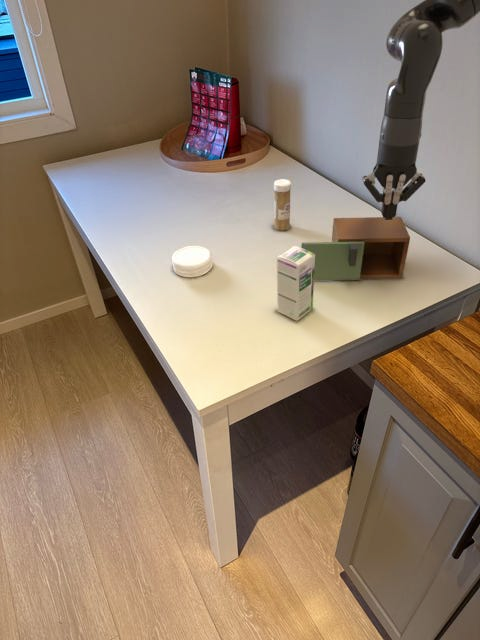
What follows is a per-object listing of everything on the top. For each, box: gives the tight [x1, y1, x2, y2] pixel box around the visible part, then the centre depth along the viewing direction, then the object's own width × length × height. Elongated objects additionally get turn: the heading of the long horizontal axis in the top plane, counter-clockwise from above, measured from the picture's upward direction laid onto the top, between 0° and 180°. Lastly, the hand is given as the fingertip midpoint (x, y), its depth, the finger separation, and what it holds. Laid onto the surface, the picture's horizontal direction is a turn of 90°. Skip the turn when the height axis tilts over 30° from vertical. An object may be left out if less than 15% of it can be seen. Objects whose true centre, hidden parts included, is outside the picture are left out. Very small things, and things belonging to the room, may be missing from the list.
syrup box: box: [276, 245, 315, 322], centre depth 103 cm, size 6×6×14 cm
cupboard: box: [331, 216, 411, 280], centre depth 116 cm, size 16×10×11 cm, turn 87°
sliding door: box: [300, 241, 364, 281], centre depth 111 cm, size 14×3×10 cm, turn 87°
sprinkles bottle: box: [273, 178, 292, 231], centre depth 133 cm, size 5×5×14 cm
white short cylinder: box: [171, 245, 213, 278], centre depth 122 cm, size 10×10×4 cm
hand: (387, 218), depth 105 cm, fingers closed
